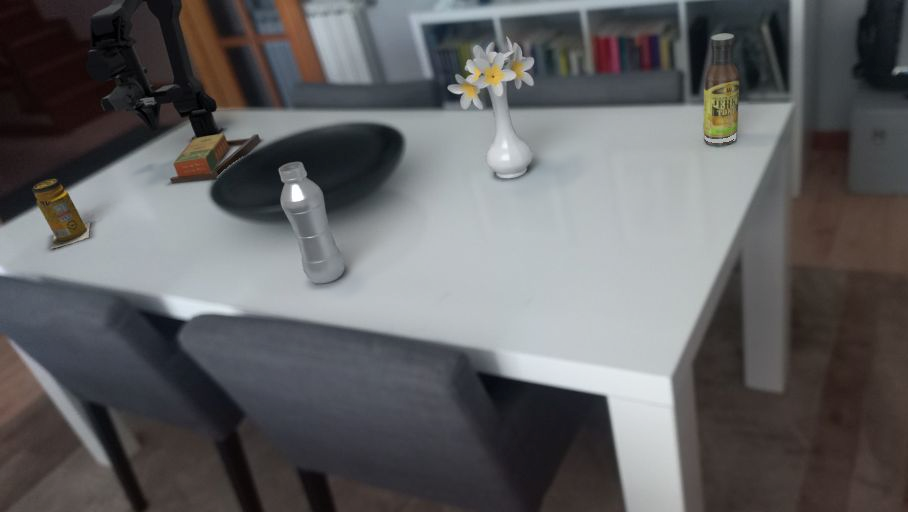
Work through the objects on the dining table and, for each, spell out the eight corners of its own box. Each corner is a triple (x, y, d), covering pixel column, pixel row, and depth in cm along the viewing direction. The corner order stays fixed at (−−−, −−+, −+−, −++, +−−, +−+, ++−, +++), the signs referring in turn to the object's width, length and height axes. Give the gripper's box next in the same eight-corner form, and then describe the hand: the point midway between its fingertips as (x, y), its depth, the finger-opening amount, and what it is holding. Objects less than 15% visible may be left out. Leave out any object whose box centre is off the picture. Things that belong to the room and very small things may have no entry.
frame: (217, 146, 190) (214, 138, 189) (260, 141, 187) (258, 134, 186) (171, 183, 172) (168, 175, 171) (219, 178, 169) (216, 171, 168)
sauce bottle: (711, 150, 137) (710, 44, 126) (698, 139, 142) (695, 36, 132) (744, 143, 137) (745, 36, 127) (729, 132, 143) (729, 29, 132)
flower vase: (461, 193, 140) (433, 64, 126) (503, 153, 153) (481, 33, 140) (522, 197, 134) (500, 62, 121) (560, 155, 147) (543, 29, 134)
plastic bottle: (311, 271, 123) (272, 162, 113) (350, 264, 123) (315, 154, 113) (305, 291, 118) (264, 179, 107) (346, 284, 118) (309, 170, 107)
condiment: (89, 223, 159) (63, 173, 152) (89, 238, 152) (61, 186, 146) (54, 235, 157) (26, 184, 150) (51, 250, 150) (22, 198, 144)
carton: (230, 148, 187) (224, 132, 185) (212, 173, 173) (205, 156, 171) (199, 153, 187) (192, 137, 185) (178, 178, 174) (171, 162, 171)
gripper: (73, 84, 165) (104, 148, 173) (144, 74, 161) (172, 140, 169) (102, 69, 174) (130, 130, 182) (170, 59, 170) (196, 123, 178)
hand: (156, 131), depth 178 cm, fingers closed
